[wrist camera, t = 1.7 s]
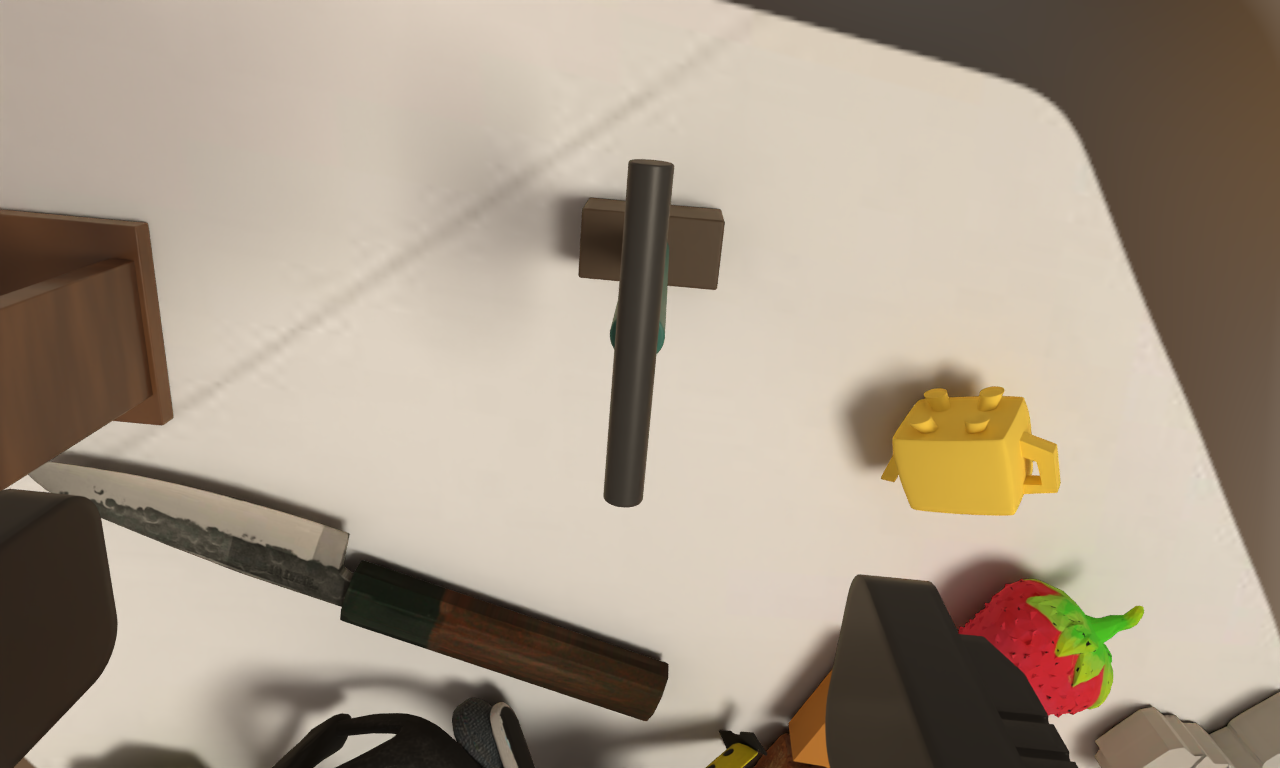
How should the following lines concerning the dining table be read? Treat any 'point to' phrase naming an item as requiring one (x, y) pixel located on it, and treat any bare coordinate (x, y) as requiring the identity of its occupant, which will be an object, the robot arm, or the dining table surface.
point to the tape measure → (737, 750)
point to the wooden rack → (75, 334)
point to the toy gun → (1194, 741)
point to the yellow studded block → (971, 454)
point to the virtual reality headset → (421, 740)
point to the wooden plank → (803, 736)
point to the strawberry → (1052, 643)
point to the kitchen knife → (366, 587)
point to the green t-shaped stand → (643, 299)
